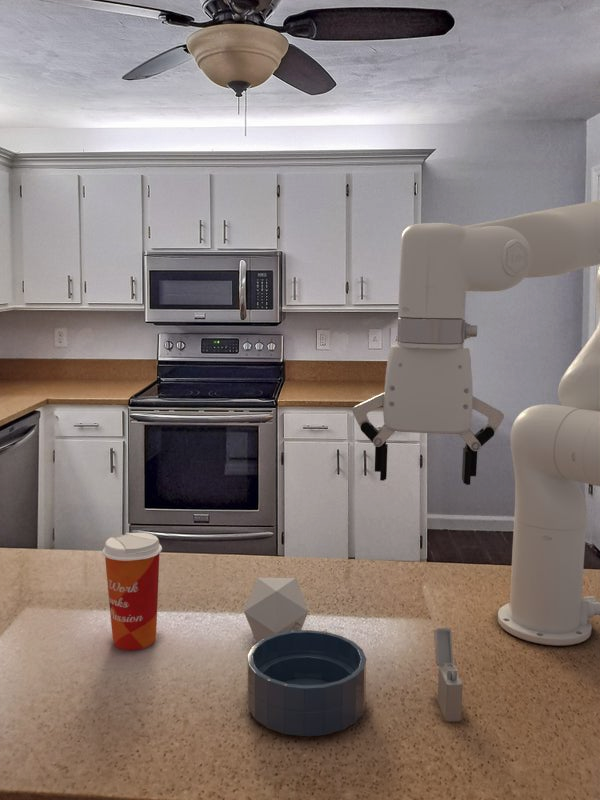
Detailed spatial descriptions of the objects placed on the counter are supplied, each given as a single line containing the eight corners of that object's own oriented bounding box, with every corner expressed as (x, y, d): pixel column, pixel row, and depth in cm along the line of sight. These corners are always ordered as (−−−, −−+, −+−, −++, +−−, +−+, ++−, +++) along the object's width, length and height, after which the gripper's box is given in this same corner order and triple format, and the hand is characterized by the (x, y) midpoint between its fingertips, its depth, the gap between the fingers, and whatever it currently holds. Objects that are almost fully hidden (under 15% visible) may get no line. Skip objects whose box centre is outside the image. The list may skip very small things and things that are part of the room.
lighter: (461, 721, 80) (464, 652, 79) (445, 721, 80) (448, 652, 79) (445, 687, 88) (448, 623, 86) (431, 687, 87) (433, 623, 86)
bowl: (352, 673, 90) (353, 627, 90) (375, 737, 77) (377, 684, 77) (245, 679, 89) (245, 632, 88) (250, 745, 76) (250, 691, 75)
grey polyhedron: (284, 666, 93) (325, 596, 95) (225, 627, 94) (267, 559, 96) (285, 657, 102) (322, 594, 104) (230, 622, 103) (269, 560, 105)
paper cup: (93, 640, 98) (90, 540, 96) (141, 622, 104) (139, 527, 102) (127, 660, 93) (124, 555, 91) (175, 640, 99) (174, 540, 97)
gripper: (503, 334, 87) (495, 476, 89) (356, 331, 89) (352, 469, 91) (513, 337, 79) (504, 492, 82) (353, 334, 81) (348, 484, 84)
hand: (424, 479), depth 86 cm, fingers open, 9 cm apart
